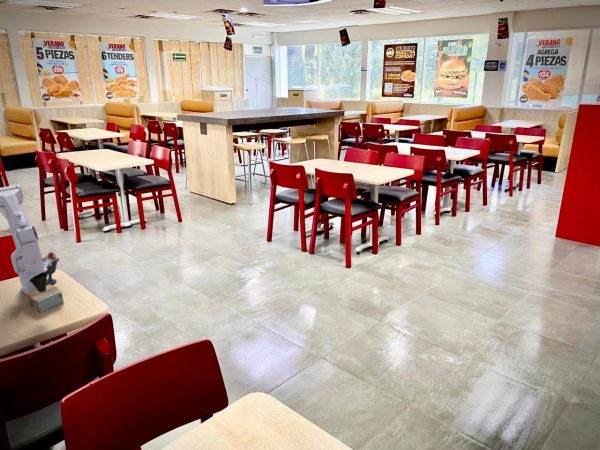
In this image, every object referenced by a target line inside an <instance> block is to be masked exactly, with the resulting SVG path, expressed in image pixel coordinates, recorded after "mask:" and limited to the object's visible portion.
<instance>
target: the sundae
mask: <svg viewBox="0 0 600 450" xmlns="http://www.w3.org/2000/svg"><path fill="white" fill-rule="evenodd" d="M42 259H43V262H44V261H46V260H51V263H52V265H51V266H48V267H47V269H48V270H47V271H48V276H47V280H46V285H49V284H51V285H53V284H56V283H57V280H56V279H55V278H53V277H52V276H53V274H55V273H56V270H57V263H58V262H60V258H59V257H57V256H56V253H54V252H52V250H50V252H49V253H47V254H46V256H44V257H42Z"/></svg>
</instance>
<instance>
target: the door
mask: <svg viewBox="0 0 600 450" xmlns="http://www.w3.org/2000/svg"><path fill="white" fill-rule="evenodd" d="M64 302H65V301H64V297H63V294H62V291H61V290H60V291H59V292H56V293H54V294H52V295H49V296H47V297H45V298H42V299H40V300H38V301H37V304H38V307H39V311H40V312H39V313H42V312H44V311H47V310H49V309H51V308H53V307H55V306H58V305H60V304H63V303H64Z"/></svg>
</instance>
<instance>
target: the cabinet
mask: <svg viewBox="0 0 600 450" xmlns="http://www.w3.org/2000/svg"><path fill="white" fill-rule="evenodd" d="M59 291H61V290H60V289H58V288H57V287H55V286H53V284H46V291H45V292H38V290H37V289H36V290H33V291H31V292H28V293H26V294H25V295H26V300H27V302H28V304H29V306H30V307H32V308H33V309H34V310H35V311H37V312H38V313H41V312H40V311H39V307H38V304H37V301H38V300H40V299H42V298H45V297H47V296H49V295H52V294H54V293H56V292H59Z"/></svg>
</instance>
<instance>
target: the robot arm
mask: <svg viewBox="0 0 600 450" xmlns="http://www.w3.org/2000/svg"><path fill="white" fill-rule="evenodd" d="M23 204H24V194H23V190H22V188H21V186H20V185H19V184H17V183H16V184H14V185H9V186H4V187H0V210H1V211H2V212H3V213H4V214H5V218H6V220H7V224H8V227H9V229H10V233H11V236H12V239H13V243H14V245H15V250H14V251H13V252H12V253H11V255H10V259H11V264H12V266H13V270H14V272H15V273H16V274H18V278H19V281H20V284H21V287H20V288H19V290H20V291H22V292H23V293H24V294H25V295H26V293H28V292H31V291H33V290H36V289H37V290H38V292H45V291H46V285H47V284H46V280H47V279H48V277H49V276H48V271H47V270H48V269H47V267H48V266H51V265H52V263H51V260H46V261H44V262H43V259H42V258H43V256H42V253H41V250H40V246H39V243H38V241H39V236H38V232H37V230H36V227H35V226H34V224H32V223H31V221H30V218H29V217H28V215H27V213H26V212H22V209H21V205H23Z"/></svg>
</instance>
